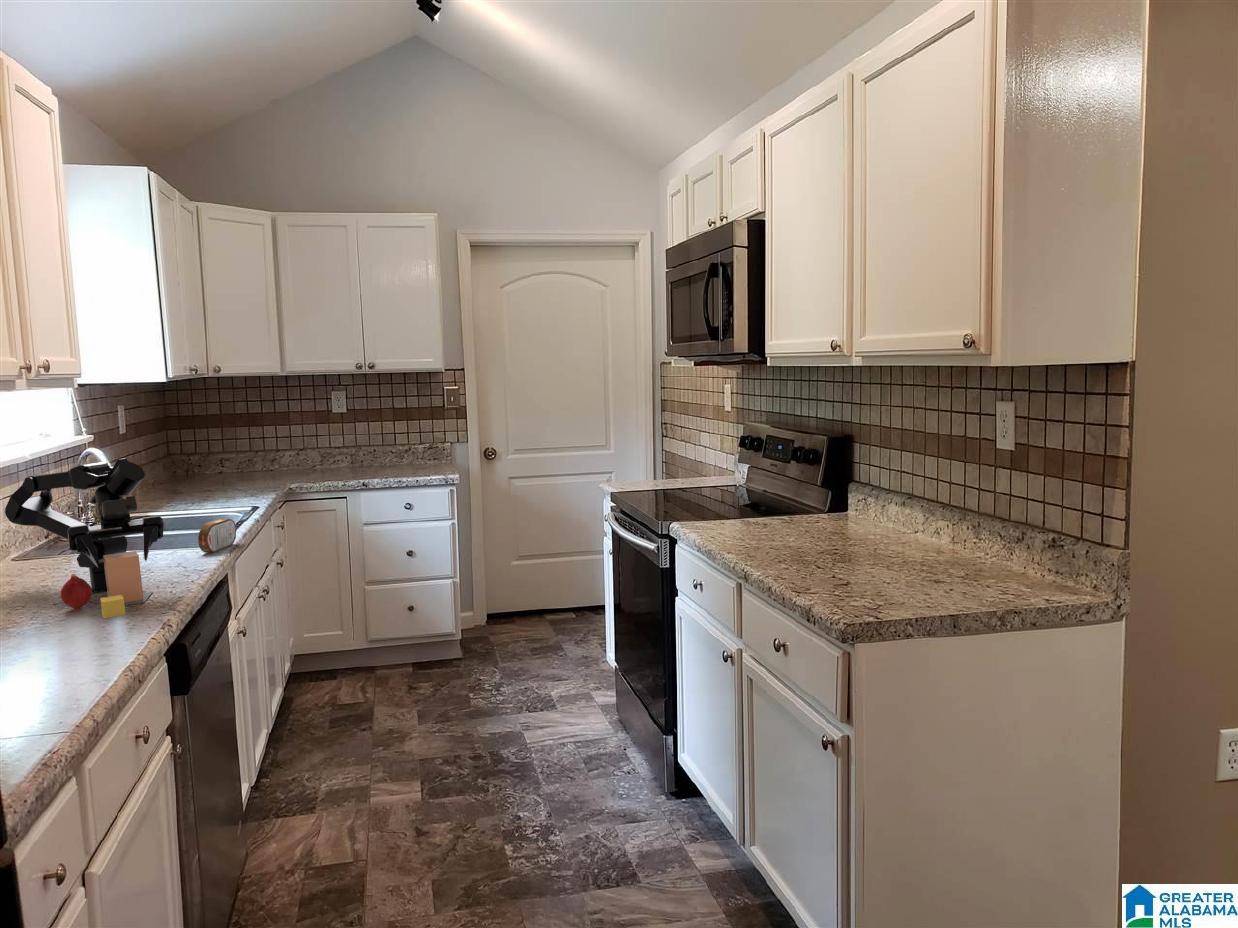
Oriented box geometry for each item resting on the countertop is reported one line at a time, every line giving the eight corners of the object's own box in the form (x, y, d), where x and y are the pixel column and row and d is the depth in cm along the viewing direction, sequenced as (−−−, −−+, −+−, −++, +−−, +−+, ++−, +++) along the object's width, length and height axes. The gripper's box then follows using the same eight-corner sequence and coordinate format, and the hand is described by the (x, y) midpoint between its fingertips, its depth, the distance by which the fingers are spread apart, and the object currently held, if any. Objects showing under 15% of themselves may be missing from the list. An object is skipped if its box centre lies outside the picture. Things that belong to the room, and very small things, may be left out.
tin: (229, 543, 260) (226, 515, 259) (239, 543, 260) (236, 514, 259) (198, 556, 246) (195, 525, 244) (209, 555, 245) (206, 525, 244)
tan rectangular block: (108, 598, 202) (102, 555, 201) (140, 593, 206) (135, 550, 205) (110, 604, 197) (105, 560, 196) (143, 599, 201) (138, 555, 199)
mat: (109, 597, 205) (109, 596, 205) (152, 593, 207) (152, 591, 207) (98, 608, 196) (98, 606, 196) (144, 603, 198) (143, 601, 198)
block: (102, 614, 192) (100, 598, 191) (123, 610, 194) (121, 594, 193) (103, 618, 188) (101, 602, 188) (125, 614, 191) (123, 598, 190)
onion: (99, 605, 198) (94, 569, 197) (84, 612, 193) (80, 576, 192) (72, 606, 198) (67, 571, 197) (57, 614, 193) (52, 577, 191)
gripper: (62, 491, 196) (72, 548, 189) (157, 480, 207) (170, 535, 199) (65, 521, 204) (74, 578, 196) (156, 510, 214) (168, 563, 206)
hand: (122, 563), depth 199 cm, fingers open, 9 cm apart
